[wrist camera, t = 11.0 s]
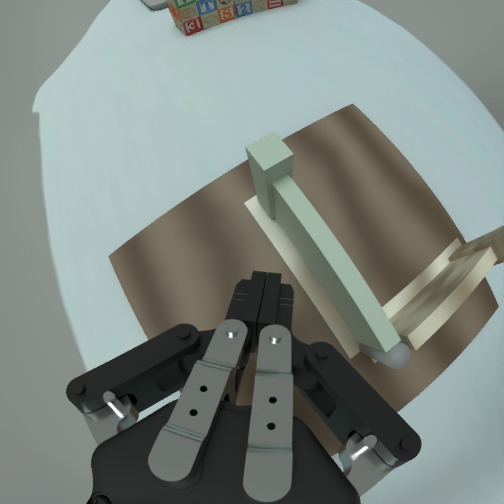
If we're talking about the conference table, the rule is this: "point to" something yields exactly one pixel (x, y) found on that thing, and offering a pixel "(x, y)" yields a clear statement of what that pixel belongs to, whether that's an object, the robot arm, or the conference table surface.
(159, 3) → the tablet
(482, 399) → the conference table surface
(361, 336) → the hinged fence panel
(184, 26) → the stack of blocks
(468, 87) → the conference table surface
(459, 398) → the conference table surface
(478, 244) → the fixed fence panel
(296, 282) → the board
